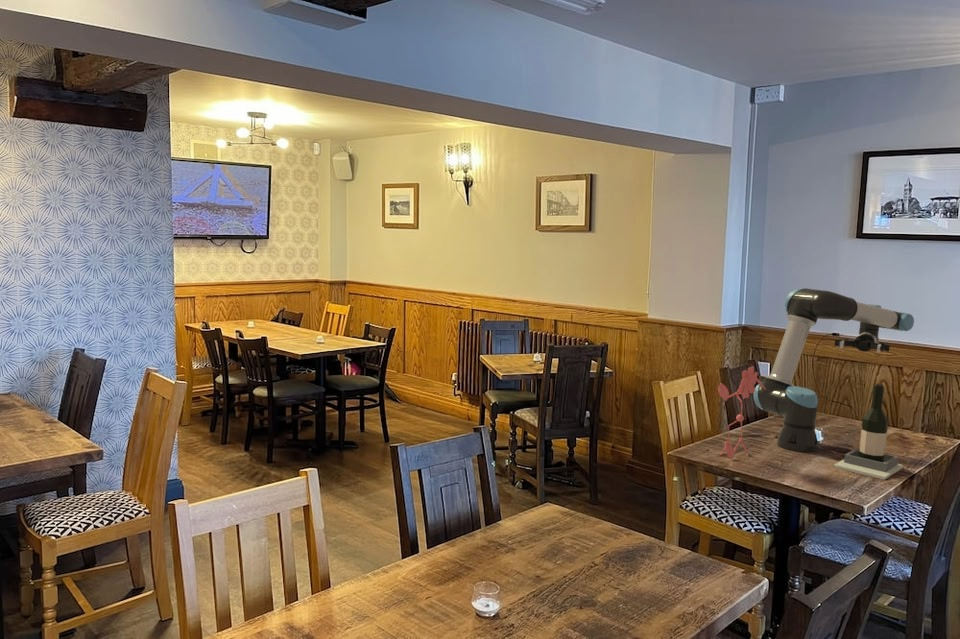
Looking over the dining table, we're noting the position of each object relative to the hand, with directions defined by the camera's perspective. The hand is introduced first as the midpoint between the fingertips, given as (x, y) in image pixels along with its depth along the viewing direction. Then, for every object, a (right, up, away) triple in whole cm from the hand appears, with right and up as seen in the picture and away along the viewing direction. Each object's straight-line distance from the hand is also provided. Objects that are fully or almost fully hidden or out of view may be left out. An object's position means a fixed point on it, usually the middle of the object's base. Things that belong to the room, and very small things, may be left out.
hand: (859, 347), depth 289 cm
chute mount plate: (-11, -43, -27) cm, 52 cm away
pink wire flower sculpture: (-55, -41, -21) cm, 72 cm away
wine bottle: (-9, -42, -26) cm, 50 cm away
